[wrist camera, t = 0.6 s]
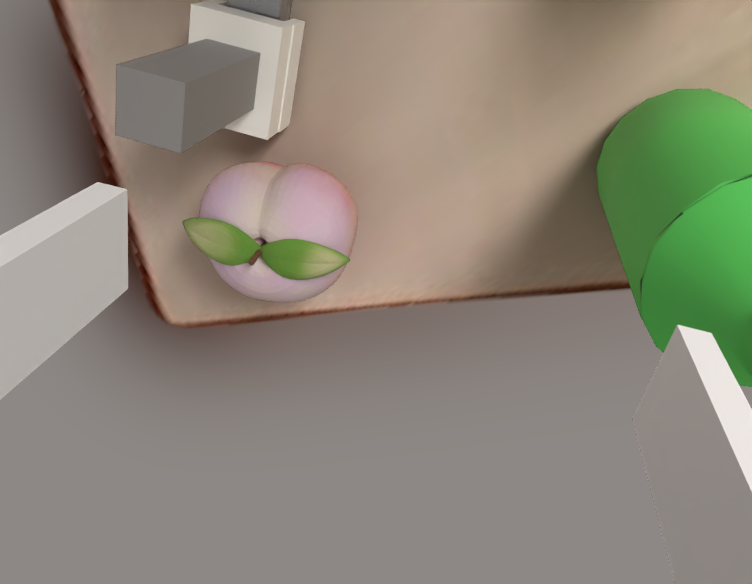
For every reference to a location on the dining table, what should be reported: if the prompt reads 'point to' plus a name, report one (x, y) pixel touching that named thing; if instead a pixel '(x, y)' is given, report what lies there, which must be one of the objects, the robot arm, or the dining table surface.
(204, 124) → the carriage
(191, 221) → the decorative fruit
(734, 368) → the bottle
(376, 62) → the dining table surface
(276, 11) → the rail
